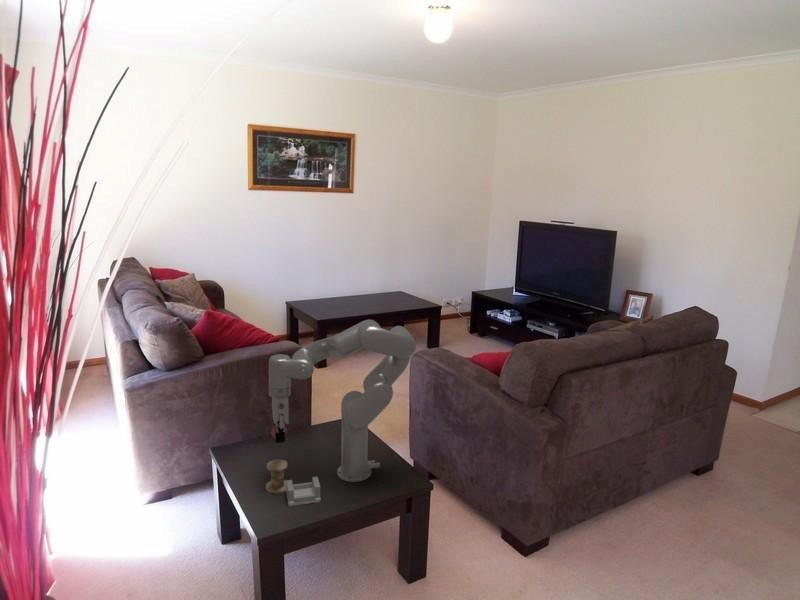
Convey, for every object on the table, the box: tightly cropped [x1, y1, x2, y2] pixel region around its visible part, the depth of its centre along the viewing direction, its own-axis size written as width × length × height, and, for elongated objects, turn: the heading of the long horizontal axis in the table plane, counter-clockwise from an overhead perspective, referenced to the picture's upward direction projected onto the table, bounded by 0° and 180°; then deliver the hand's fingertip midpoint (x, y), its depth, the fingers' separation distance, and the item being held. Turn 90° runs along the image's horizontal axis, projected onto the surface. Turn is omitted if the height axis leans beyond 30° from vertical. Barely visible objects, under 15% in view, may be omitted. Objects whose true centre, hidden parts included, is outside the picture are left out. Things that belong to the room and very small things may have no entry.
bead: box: [271, 425, 288, 440], centre depth 191 cm, size 6×6×6 cm
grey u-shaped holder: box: [285, 476, 322, 507], centre depth 184 cm, size 11×9×5 cm
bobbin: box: [265, 458, 288, 495], centre depth 189 cm, size 8×8×9 cm
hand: (279, 437), depth 192 cm, fingers closed on bead, 5 cm apart
